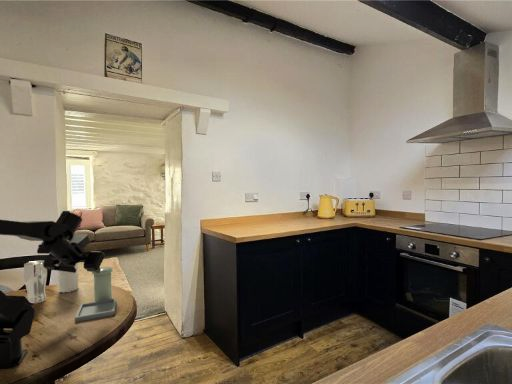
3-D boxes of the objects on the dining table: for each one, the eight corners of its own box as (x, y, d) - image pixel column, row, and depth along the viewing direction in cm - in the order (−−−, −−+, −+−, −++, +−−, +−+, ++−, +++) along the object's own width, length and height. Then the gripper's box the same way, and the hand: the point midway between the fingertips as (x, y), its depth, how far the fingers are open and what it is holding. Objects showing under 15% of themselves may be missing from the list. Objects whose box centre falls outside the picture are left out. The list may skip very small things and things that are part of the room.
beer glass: (35, 305, 102) (33, 265, 102) (19, 304, 103) (18, 264, 103) (52, 298, 109) (51, 260, 108) (37, 296, 110) (36, 259, 110)
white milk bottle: (80, 286, 122) (78, 229, 121) (76, 291, 115) (74, 232, 114) (61, 288, 119) (59, 230, 118) (56, 294, 112) (54, 233, 112)
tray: (114, 315, 94) (114, 310, 94) (75, 322, 89) (74, 317, 89) (116, 302, 104) (116, 298, 104) (81, 307, 100) (81, 303, 100)
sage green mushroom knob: (112, 301, 105) (111, 270, 104) (91, 305, 102) (91, 273, 102) (113, 295, 111) (113, 265, 111) (94, 298, 108) (93, 268, 108)
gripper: (100, 227, 91) (121, 252, 103) (49, 227, 93) (74, 251, 105) (84, 257, 84) (108, 280, 95) (28, 256, 86) (58, 279, 97)
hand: (87, 271), depth 98 cm, fingers open, 9 cm apart
